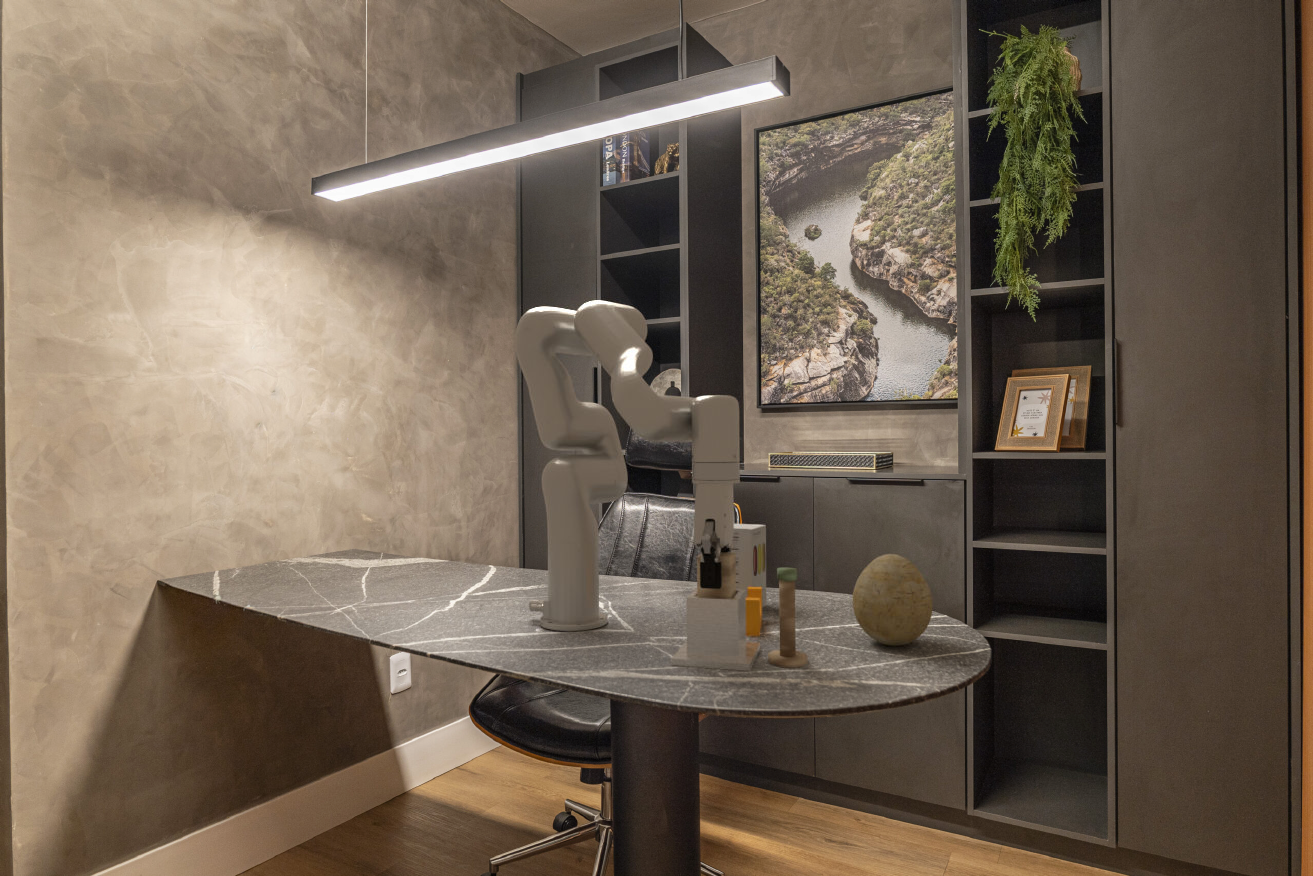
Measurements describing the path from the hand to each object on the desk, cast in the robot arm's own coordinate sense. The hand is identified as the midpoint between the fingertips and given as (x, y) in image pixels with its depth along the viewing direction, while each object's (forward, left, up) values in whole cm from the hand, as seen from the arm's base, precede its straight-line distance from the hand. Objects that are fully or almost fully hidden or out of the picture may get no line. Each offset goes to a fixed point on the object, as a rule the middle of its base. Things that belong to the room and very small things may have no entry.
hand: (716, 582), depth 118 cm
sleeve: (0, 0, -12) cm, 12 cm away
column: (0, 0, -11) cm, 11 cm away
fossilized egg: (+27, +14, -12) cm, 33 cm away
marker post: (+11, 0, -12) cm, 16 cm away
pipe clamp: (+2, +20, -12) cm, 23 cm away
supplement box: (-2, +35, -12) cm, 37 cm away
